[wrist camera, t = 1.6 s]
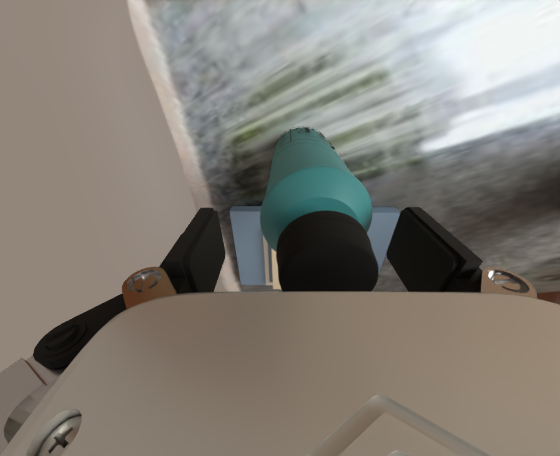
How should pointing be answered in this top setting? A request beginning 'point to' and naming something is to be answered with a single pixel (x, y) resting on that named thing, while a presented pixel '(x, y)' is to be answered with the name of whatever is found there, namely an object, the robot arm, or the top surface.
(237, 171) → the top surface
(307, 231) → the beverage bottle
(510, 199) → the top surface
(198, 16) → the top surface
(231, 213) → the board
